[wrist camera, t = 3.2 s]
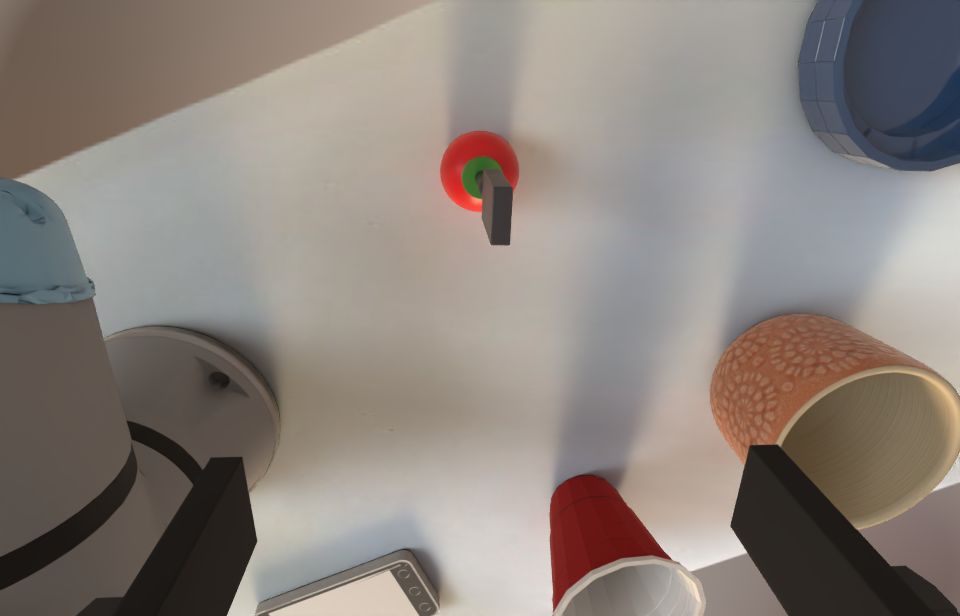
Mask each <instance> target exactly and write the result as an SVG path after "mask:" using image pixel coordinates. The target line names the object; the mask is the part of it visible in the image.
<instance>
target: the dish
mask: <svg viewBox="0 0 960 616" xmlns="http://www.w3.org/2000/svg"><path fill="white" fill-rule="evenodd" d="M798 63H799V64H798V69H799V88H800V99H801V103H802V106H803V108H804V111H805V113H806V116H807V118H808V121H809V123H810V126H811V128H812V130H813V132H814V133H815V134H816V135H817V136H818V137H819V138H820V139H821V140H822V141H823V142H824V143H825V144H826V145H827V146H828V147H829V148H830V149H831V150H832V151H833V152H834V153H837V154H839V155H841V156H844V157H846V158H848V159H851V160H853V161H856V162H858V163H861V164H866V165H872V166H877V167H882V168H888V169H893V170H899V171H934V170H938V169H941V168H944V167H948V166H951V165H955V164H958V163H960V0H819V1H818V3H817V5H816V7H815V9H814V11H813V12H812V14H811V16H810V18H809V20H808V22H807V26H806V30H805V35H804V39H803V44H802V48H801V52H800V57H799V61H798Z"/></svg>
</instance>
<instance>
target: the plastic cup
mask: <svg viewBox="0 0 960 616" xmlns="http://www.w3.org/2000/svg"><path fill="white" fill-rule="evenodd" d="M550 529H551V532H550V550H551V566H552V582H553V599H552V601H553V614H552V616H703V614H704V610H705V605H706V599H705V596H704V592H703V589H702V586H701V582H700V580H698V579H697V578H696V577H695V576H694V575H693V574H691V573H690V572H689V571H688V570H687V569H686V568H685V567H683V566H682V565H681V564H680V563H679V562H676V561H673V560H672V559H671V558H670V557H669V556H668V555H667V554H666V553H665V552H664V551H663V550H662V548H661V547H660V546H659V544H658V543H657V542H656V541H655V539H654V538H653V537H652V535H651V534H650V533H649V531H648V530H647V529H646V527H645V526H644V525H643V524H642V522H641V521H640V520H639V518H638V517H637V516H636V514H635V513H634V512H633V510H631V509H630V508H629V507H628V506H627V504H626V503H625V501H624V500H623V499H622V497H621V496H620V494H619V493H618V492H617V490H616V489H615V488H613V487H612V486H611V485H610V484H609V483H608V482H607V481H606V480H605V479H603V478H600V477H597V476H594V475H580V476H577V477H574V478H571V479H569V480H567V481H565V482H564V483H563V484H562V485H560V486H559V487H558V488H557V489H556V491H555V493H554V494H553V496H552V498H551V505H550Z"/></svg>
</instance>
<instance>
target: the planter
mask: <svg viewBox="0 0 960 616" xmlns="http://www.w3.org/2000/svg"><path fill="white" fill-rule="evenodd" d="M710 403H711V408H712V413H713V416H714V419H715V421H716V424H717V426H718V427H719V429H720V431H721V433H722V434H723V436H724V438H725V439H726V441H727V442H728V444H729V445H730V446H731V447H732V449H733V450H734V451H735V453H736V454H737V456H738V457H739V458H740V460H741V461H742V463H743V464H744V466H745V463H746V459H747V454H748V450H749V446H750V445H772V444H778V445H779V446H780V447H781V449H782V450H783V451H784V452H785V453H786V454H787V455H788V456H789V457H790V458H791V459H792V460H793V461H794V463H795V464H796V465H797V466H798V467H799V468H800V469H801V470H802V471H803V472H804V473H805V474H806V475H807V477H808V478H809V479H810V480H811V481H812V482H813V483H814V484H815V485H816V486H817V487H818V488H819V490H820V491H821V492H822V493H823V494H824V495H825V496H826V497H827V498H828V499H829V500H830V501H831V502H832V504H833V505H834V506H835V507H836V508H837V509H838V510H839V511H840V512H841V513H842V514H843V515H844V516H845V518H846V519H847V520H848V521H849V522H850V523H851V524H852V525H853V526H854V527H855V528H856V529H857V530H858V529H863V528H867V527H870V526H874V525H877V524H879V523H882V522H885V521H887V520H889V519H891V518H894V517H895V516H898V515H899V514H901V513H903V512H905V511H906V510H908V509H910V508H911V507H913V506H914V505H915V504H917V503H918V502H919V501H921V500H922V499H923V498H924V497H925V496H927V495H928V494H929V493H930V492H931V491H932V490H933V489H934V488H935V487H936V486H937V485H938V484H939V483H940V482H941V481H942V479H943V478H944V477H945V476H946V474H947V473H948V472H949V470H950V469H951V467H952V465H953V464H954V462H955V460H956V458H957V456H958V454H959V452H960V396H959V394H958V393H957V391H956V390H955V388H954V387H953V386H952V385H951V384H950V383H949V382H948V381H947V380H946V379H944V378H943V377H942V376H941V375H940V374H938V373H937V372H935V371H934V370H932V369H931V368H929V367H928V366H926V365H925V364H923V363H921V362H919V361H917V360H915V359H914V358H912V357H910V356H908V355H906V354H904V353H902V352H900V351H898V350H896V349H895V348H893V347H891V346H889V345H887V344H885V343H883V342H881V341H879V340H877V339H875V338H873V337H871V336H869V335H867V334H865V333H863V332H861V331H859V330H858V329H856V328H854V327H852V326H850V325H848V324H845V323H842V322H840V321H837V320H835V319H832V318H829V317H825V316H820V315H813V314H790V315H783V316H779V317H775V318H772V319H769V320H766V321H763V322H761V323H759V324H757V325H755V326H753V327H752V328H750V329H748V330H747V331H745V332H744V333H743V334H741V335H740V336H739V337H738V338H737V339H736V340H735V341H734V342H733V343H732V344H731V345H730V346H729V347H728V348H727V349H726V351H725V352H724V353H723V355H722V356H721V358H720V360H719V361H718V363H717V365H716V368H715V370H714V373H713V377H712V380H711V386H710Z"/></svg>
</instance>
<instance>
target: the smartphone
mask: <svg viewBox="0 0 960 616" xmlns="http://www.w3.org/2000/svg"><path fill="white" fill-rule="evenodd" d="M439 610H440V603H439V596H438V595H437V593H436V591H435V590H434V588H433V586H432V585H431V583H430V582H429V580H428V578H427V577H426V575H425V574H424V572H423V570H422V569H421V567H420V566H419V564H418V562H417V561H416V559H415V557H414V556H413V554H412V553H411V552H409V551H407V550H400V551H397V552H395V553H392V554H389V555H387V556H384V557H381V558H379V559H376V560H373V561H371V562H368V563H365V564H363V565H360V566H357V567H355V568H352V569H349V570H347V571H344V572H341V573H339V574H336V575H333V576H331V577H328V578H325V579H323V580H320V581H317V582H315V583H312V584H309V585H306V586H304V587H301V588H298V589H296V590H293V591H290V592H288V593H285V594H282V595H280V596H277V597H274V598H272V599H269V600H266V601H264V602H261V603H260V604H259V605H258V606H257V609H256V612H255V615H254V616H436V615H437V614H438V613H439Z"/></svg>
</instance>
